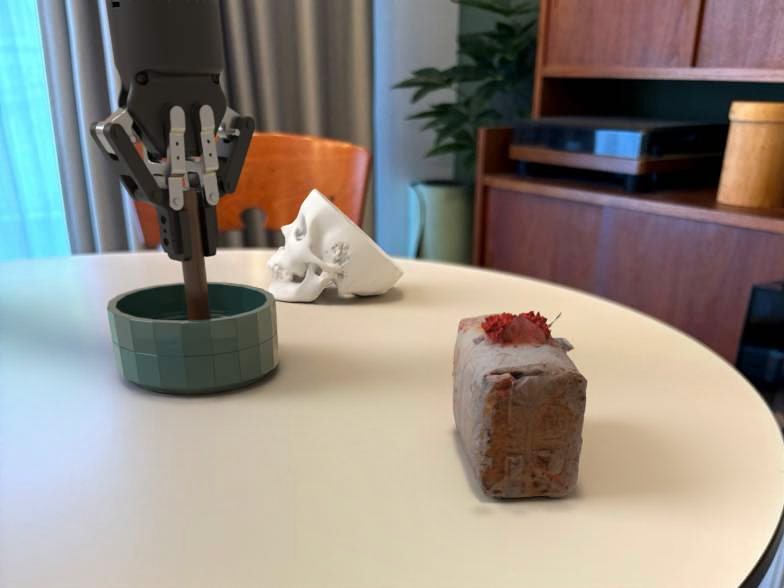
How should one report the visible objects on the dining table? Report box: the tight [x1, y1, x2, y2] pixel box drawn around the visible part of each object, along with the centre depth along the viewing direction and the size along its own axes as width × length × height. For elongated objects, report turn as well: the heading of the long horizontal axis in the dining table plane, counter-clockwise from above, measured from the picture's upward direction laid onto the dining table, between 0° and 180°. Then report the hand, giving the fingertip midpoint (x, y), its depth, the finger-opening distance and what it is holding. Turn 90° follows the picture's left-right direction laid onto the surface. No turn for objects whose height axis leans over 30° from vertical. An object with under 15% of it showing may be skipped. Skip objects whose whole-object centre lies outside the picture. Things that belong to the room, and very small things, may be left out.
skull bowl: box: [266, 188, 405, 303], centre depth 93 cm, size 10×14×12 cm
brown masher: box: [181, 186, 211, 320], centre depth 66 cm, size 6×6×13 cm
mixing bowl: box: [106, 281, 280, 395], centre depth 70 cm, size 13×13×6 cm
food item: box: [452, 310, 589, 500], centre depth 54 cm, size 14×8×10 cm, turn 5°
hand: (192, 256), depth 65 cm, fingers closed on brown masher
